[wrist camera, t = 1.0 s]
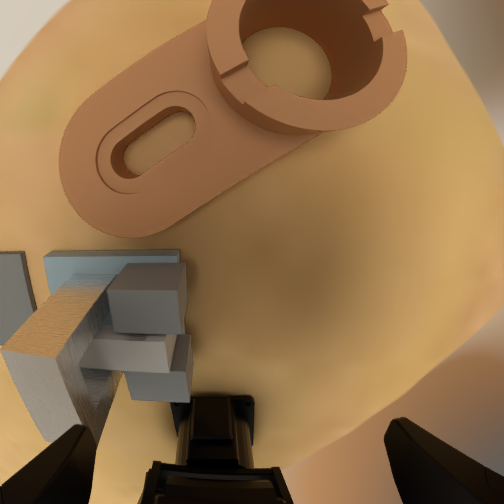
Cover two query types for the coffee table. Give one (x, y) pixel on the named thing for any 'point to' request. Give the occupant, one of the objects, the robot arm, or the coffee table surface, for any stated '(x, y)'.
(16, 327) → the mat
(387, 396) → the coffee table surface
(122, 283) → the vise
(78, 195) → the bracket
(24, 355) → the wood-topped grey block
